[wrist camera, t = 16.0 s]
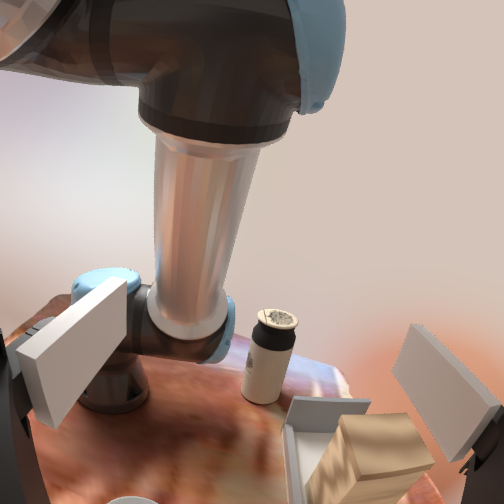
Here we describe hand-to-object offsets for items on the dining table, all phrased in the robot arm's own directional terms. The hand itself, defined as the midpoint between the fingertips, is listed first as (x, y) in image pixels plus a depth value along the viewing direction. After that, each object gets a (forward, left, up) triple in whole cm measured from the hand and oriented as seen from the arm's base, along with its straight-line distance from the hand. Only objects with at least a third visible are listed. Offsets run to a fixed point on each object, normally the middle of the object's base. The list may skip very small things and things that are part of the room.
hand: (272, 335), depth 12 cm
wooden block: (-2, +19, -33) cm, 38 cm away
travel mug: (-33, +19, -34) cm, 51 cm away
